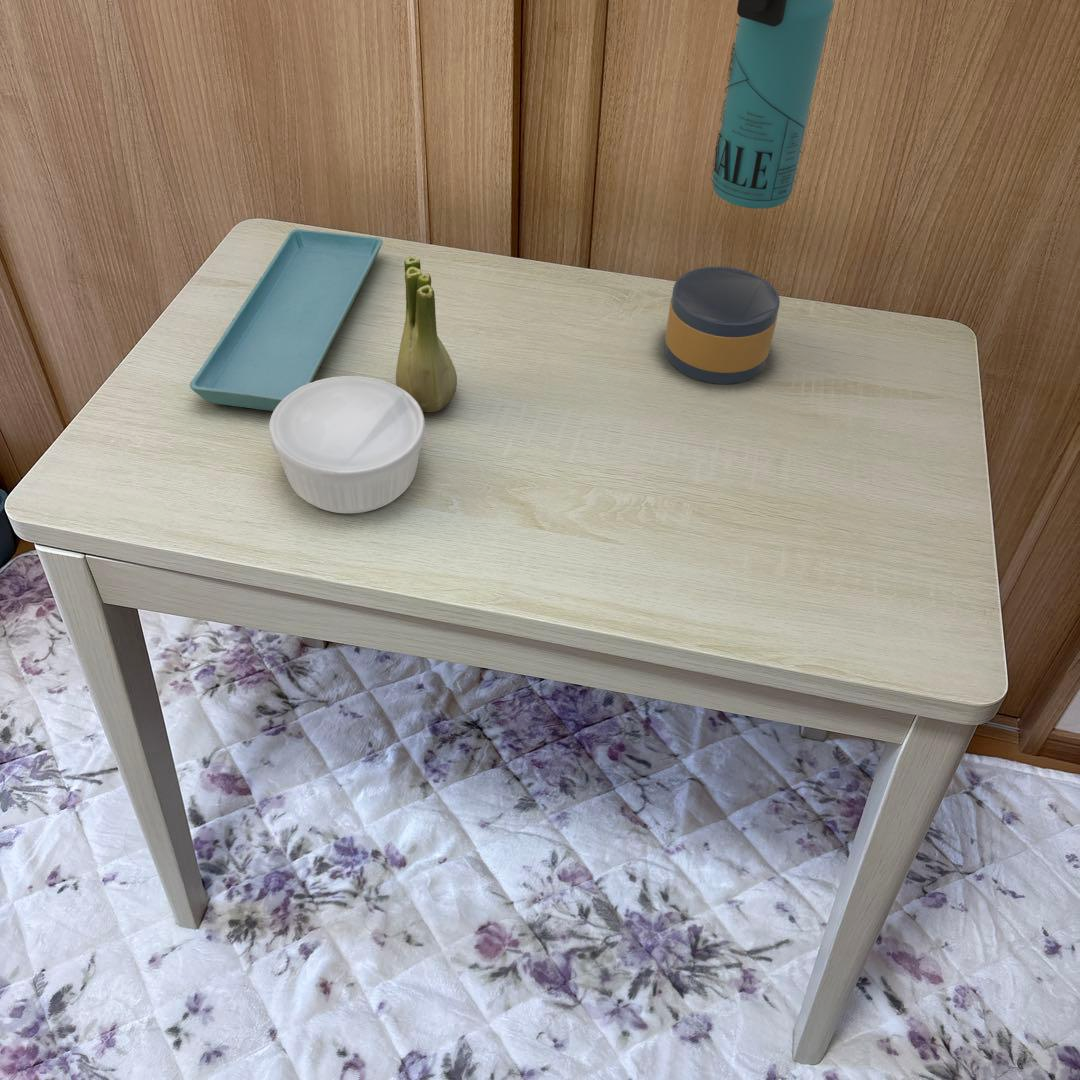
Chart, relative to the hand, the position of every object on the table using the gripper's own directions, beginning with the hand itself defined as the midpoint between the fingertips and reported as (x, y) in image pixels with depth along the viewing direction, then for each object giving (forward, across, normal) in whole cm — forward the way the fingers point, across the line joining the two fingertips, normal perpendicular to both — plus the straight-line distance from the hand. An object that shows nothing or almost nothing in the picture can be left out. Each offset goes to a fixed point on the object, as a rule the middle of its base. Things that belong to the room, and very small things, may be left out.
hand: (786, 4), depth 72 cm
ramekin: (+30, -32, +13) cm, 45 cm away
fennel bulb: (+30, -21, +15) cm, 39 cm away
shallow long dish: (+29, -21, +31) cm, 48 cm away
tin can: (+29, 0, +1) cm, 29 cm away
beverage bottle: (+15, 0, 0) cm, 15 cm away
